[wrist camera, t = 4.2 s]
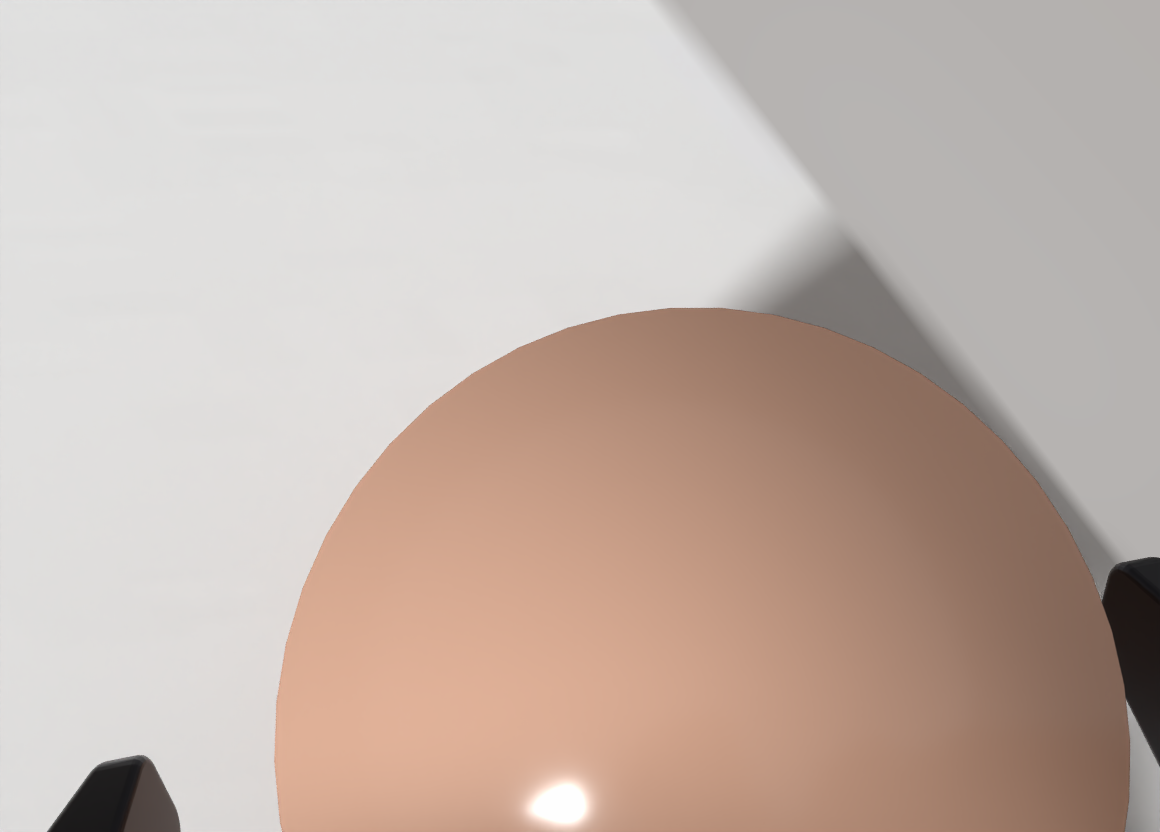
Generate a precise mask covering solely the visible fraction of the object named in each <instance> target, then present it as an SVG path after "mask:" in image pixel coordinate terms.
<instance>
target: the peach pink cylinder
mask: <svg viewBox="0 0 1160 832" xmlns="http://www.w3.org/2000/svg"><path fill="white" fill-rule="evenodd" d="M274 762H275V773H276V783H277V794H278V805H279V816H280V824H281V828H282V832H1125V825H1126V818H1127V811H1128V804H1129V777H1130V736H1129V726H1128V717H1127V707H1126V698H1125V688H1124V682H1123V678H1122V673H1121V669H1120V665H1119V660H1118V656H1117V652H1116V647H1115V643H1114V638H1113V634H1112V630H1111V627H1110V624H1109V622H1108V619H1107V616H1106V613H1105V610H1104V608H1103V605H1102V602H1101V599H1100V596H1099V594H1098V591H1097V588H1096V585H1095V583H1094V580H1093V577H1092V575H1091V573H1090V571H1089V569H1088V567H1087V565H1086V563H1085V561H1084V559H1083V557H1082V555H1081V553H1080V551H1079V549H1078V547H1077V545H1076V543H1075V541H1074V539H1073V537H1072V535H1071V533H1070V531H1069V529H1068V527H1067V526H1066V524H1065V523H1064V521H1063V520H1062V518H1061V517H1060V515H1059V514H1058V512H1057V511H1056V509H1055V508H1054V506H1053V505H1052V503H1051V502H1050V500H1049V499H1048V497H1047V496H1046V494H1045V493H1044V491H1043V490H1042V488H1041V487H1040V485H1039V483H1038V482H1037V481H1036V480H1035V478H1034V477H1033V476H1032V475H1031V474H1030V473H1029V471H1028V470H1027V469H1026V468H1025V467H1024V465H1023V464H1022V463H1021V462H1020V461H1019V460H1018V458H1017V457H1016V456H1015V455H1014V454H1013V453H1012V451H1011V450H1010V449H1009V448H1008V447H1007V445H1006V444H1005V443H1004V442H1003V441H1002V440H1001V439H1000V438H999V437H998V436H997V435H996V434H995V433H994V432H993V431H991V430H990V429H989V428H988V427H987V426H986V425H985V424H984V423H983V422H982V421H981V420H980V419H978V418H977V417H976V416H975V415H974V414H973V413H972V412H971V411H970V410H969V409H968V408H967V407H966V406H964V405H963V404H962V403H961V402H959V401H958V400H957V399H955V398H954V397H952V396H951V395H950V394H948V393H947V392H945V391H944V390H943V389H941V388H940V387H939V386H937V385H936V384H934V383H933V382H932V381H930V380H929V379H927V378H926V377H925V376H923V375H922V374H921V373H919V372H917V371H915V370H914V369H912V368H910V367H908V366H906V365H904V364H903V363H901V362H899V361H897V360H895V359H894V358H892V357H890V356H888V355H886V354H884V353H883V352H881V351H879V350H877V349H875V348H874V347H871V346H869V345H866V344H864V343H861V342H859V341H856V340H853V339H851V338H848V337H846V336H843V335H841V334H838V333H836V332H833V331H831V330H828V329H826V328H823V327H819V326H815V325H811V324H807V323H803V322H800V321H796V320H792V319H788V318H784V317H780V316H777V315H771V314H764V313H756V312H748V311H740V310H733V309H725V308H667V309H659V310H651V311H643V312H635V313H627V314H620V315H615V316H611V317H608V318H604V319H600V320H596V321H592V322H588V323H584V324H581V325H577V326H573V327H569V328H566V329H564V330H561V331H559V332H556V333H554V334H551V335H549V336H546V337H544V338H541V339H539V340H536V341H534V342H531V343H529V344H526V345H524V346H521V347H519V348H517V349H515V350H514V351H512V352H510V353H508V354H507V355H505V356H503V357H501V358H499V359H498V360H496V361H494V362H492V363H490V364H489V365H487V366H485V367H483V368H482V369H480V370H478V371H476V372H474V373H473V374H471V375H470V376H469V377H467V378H466V379H465V380H463V381H462V382H461V383H459V384H458V385H457V386H455V387H454V388H453V389H451V390H450V391H448V392H447V393H446V394H444V395H443V396H442V397H440V398H439V399H438V400H436V401H435V402H434V403H432V404H431V405H430V406H429V407H428V408H426V409H425V410H424V411H423V412H422V413H421V414H420V415H419V416H418V417H417V418H416V419H415V420H414V421H413V422H412V423H411V424H410V425H409V426H408V427H407V428H406V429H405V430H404V431H403V432H402V433H401V434H400V435H399V436H398V437H397V438H395V439H394V440H393V441H392V442H391V443H390V444H389V446H388V447H387V448H386V449H385V451H384V452H383V453H382V454H381V456H380V457H379V458H378V459H377V461H376V462H375V463H374V464H373V466H372V467H371V468H370V469H369V471H368V472H367V473H366V474H365V476H364V477H363V478H362V480H361V481H360V482H359V483H358V485H357V486H356V487H355V489H354V490H353V492H352V494H351V495H350V497H349V498H348V500H347V502H346V503H345V505H344V507H343V508H342V510H341V512H340V513H339V515H338V517H337V518H336V520H335V522H334V523H333V525H332V526H331V528H330V530H329V531H328V533H327V535H326V537H325V539H324V541H323V543H322V546H321V548H320V550H319V552H318V555H317V557H316V559H315V561H314V564H313V566H312V568H311V570H310V573H309V575H308V577H307V579H306V582H305V584H304V586H303V589H302V592H301V596H300V599H299V602H298V606H297V609H296V612H295V616H294V619H293V622H292V626H291V629H290V632H289V636H288V639H287V642H286V647H285V654H284V660H283V666H282V672H281V678H280V684H279V690H278V696H277V704H276V732H275V760H274Z"/></svg>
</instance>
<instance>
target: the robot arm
mask: <svg viewBox="0 0 1160 832" xmlns="http://www.w3.org/2000/svg"><path fill="white" fill-rule="evenodd" d="M1102 605H1103V608H1104V610H1105V613H1106V616H1107V619H1108V622H1109V624H1110V627H1111V630H1112V634H1113V638H1114V643H1115V647H1116V652H1117V656H1118V660H1119V665H1120V669H1121V673H1122V678H1123V682H1124V688H1125V698H1126V700H1127V702H1128V704H1129V706H1130V708H1131V710H1132V712H1133V714H1134V716H1135V718H1136V720H1137V722H1138V724H1139V726H1140V728H1141V730H1142V732H1143V734H1144V736H1145V738H1146V740H1147V742H1148V744H1149V746H1150V748H1151V750H1152V752H1153V754H1154V756H1155V758H1156V760H1157V762H1158V764H1159V766H1160V558H1157V557H1148V558H1143V559H1138V560H1133V561H1127V562H1122V563H1119V564H1117V565H1115V566H1114V567H1113V569H1112V570H1111V571H1110V573H1109V576H1108V580H1107V583H1106V587H1105V591H1104V595H1103V599H1102ZM47 832H181V831H180V822H179V817H178V813H177V810H176V808H175V805H174V803H173V801H172V799H171V797H170V795H169V794H168V792H167V790H166V788H165V786H164V784H163V782H162V780H161V778H160V776H159V774H158V772H157V770H156V768H155V766H154V764H153V763H152V761H151V760H150V759H149V758H148V757H146V756H144V755H136V756H131V757H126V758H121V759H116V760H111V761H106V762H103V763H101V764H99V765H98V766H97V767H95V768H94V769H93V770H92V771H91V773H90V774H89V775H88V776H87V778H86V779H85V781H84V782H83V783H82V785H81V786H80V787H79V789H78V790H77V792H76V793H75V794H74V796H73V797H72V798H71V800H70V801H69V802H68V804H67V805H66V807H65V808H64V809H63V811H62V812H61V813H60V815H59V816H58V817H57V819H56V820H55V822H54V823H53V824H52V826H51V827H50V828H49V830H48V831H47Z"/></svg>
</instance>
